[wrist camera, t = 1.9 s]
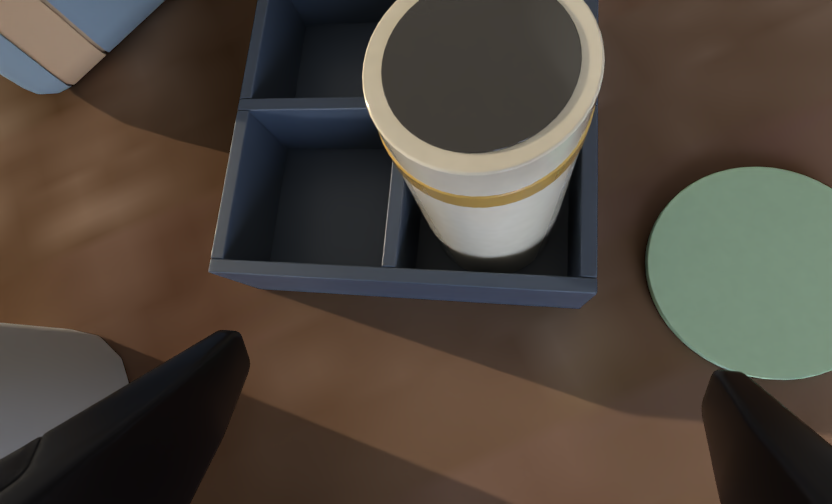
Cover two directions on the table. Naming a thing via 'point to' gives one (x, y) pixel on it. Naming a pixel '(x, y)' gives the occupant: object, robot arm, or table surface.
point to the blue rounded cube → (62, 38)
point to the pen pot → (485, 116)
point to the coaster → (748, 271)
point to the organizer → (359, 181)
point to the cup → (50, 379)
